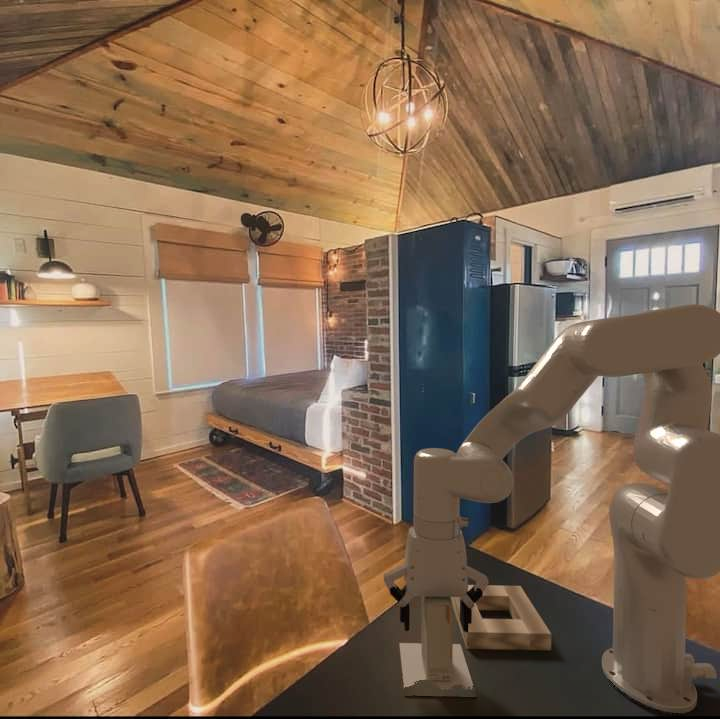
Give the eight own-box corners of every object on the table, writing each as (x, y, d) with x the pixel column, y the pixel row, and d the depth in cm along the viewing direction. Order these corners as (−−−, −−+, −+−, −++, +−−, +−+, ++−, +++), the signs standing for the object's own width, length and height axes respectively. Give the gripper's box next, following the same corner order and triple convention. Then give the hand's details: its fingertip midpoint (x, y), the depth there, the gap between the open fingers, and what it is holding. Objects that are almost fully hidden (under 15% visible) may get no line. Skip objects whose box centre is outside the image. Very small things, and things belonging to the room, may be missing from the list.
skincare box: (453, 682, 65) (454, 606, 65) (426, 681, 66) (426, 606, 65) (445, 652, 72) (446, 583, 72) (420, 652, 72) (421, 583, 72)
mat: (460, 646, 74) (460, 644, 74) (476, 697, 63) (476, 695, 63) (399, 645, 74) (399, 642, 74) (404, 696, 63) (404, 693, 63)
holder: (520, 599, 88) (520, 585, 88) (551, 650, 73) (551, 633, 73) (450, 598, 88) (450, 584, 88) (466, 648, 73) (466, 632, 73)
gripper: (482, 516, 72) (481, 613, 72) (383, 515, 72) (382, 611, 72) (495, 535, 64) (494, 643, 65) (385, 533, 65) (384, 641, 65)
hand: (435, 626), depth 69 cm, fingers open, 9 cm apart
